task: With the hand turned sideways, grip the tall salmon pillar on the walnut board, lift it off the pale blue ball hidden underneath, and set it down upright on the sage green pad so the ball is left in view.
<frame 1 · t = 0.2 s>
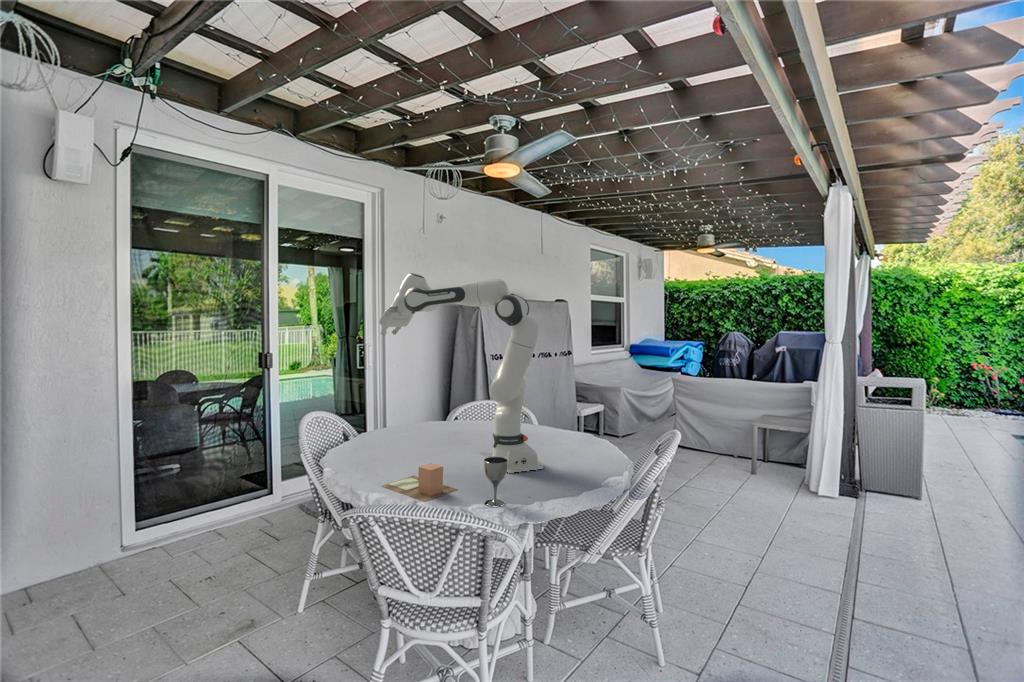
hand: (388, 334, 229), 54 cm above the table, tool tilted 30°, fingers open, 8 cm apart
ball: (430, 487, 182), point 2 cm above the table, touching board
tall salmon pillar: (430, 491, 182), point 1 cm above the table, touching board
wine glass: (495, 504, 175), on the table
board: (419, 490, 186), on the table
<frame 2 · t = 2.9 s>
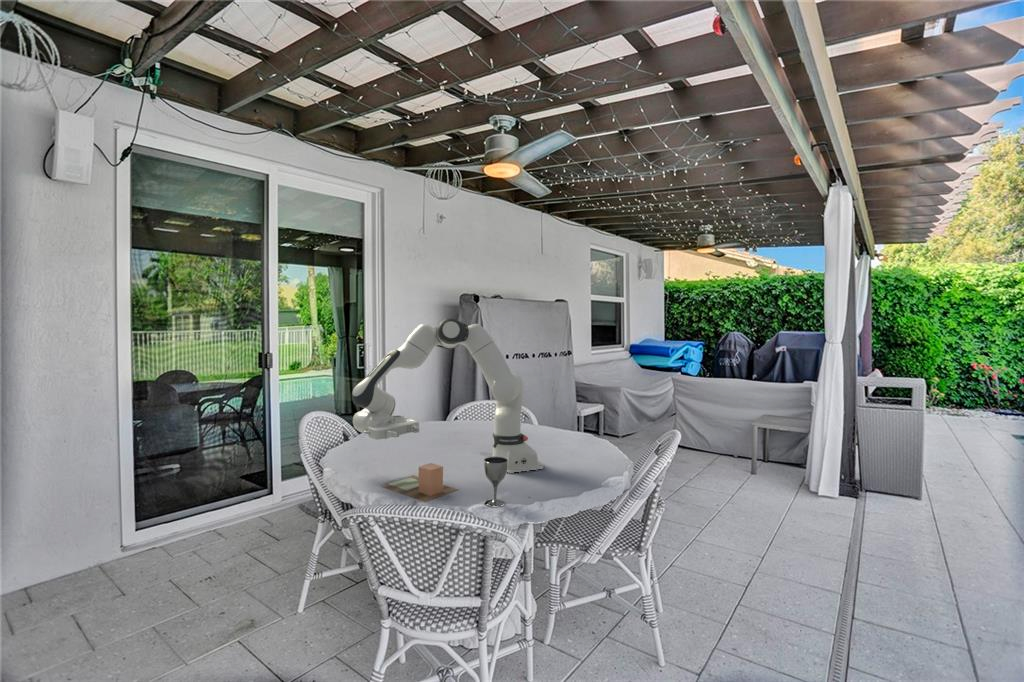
hand: (408, 432, 189), 20 cm above the table, tool horizontal, fingers open, 8 cm apart
nothing on the table moved.
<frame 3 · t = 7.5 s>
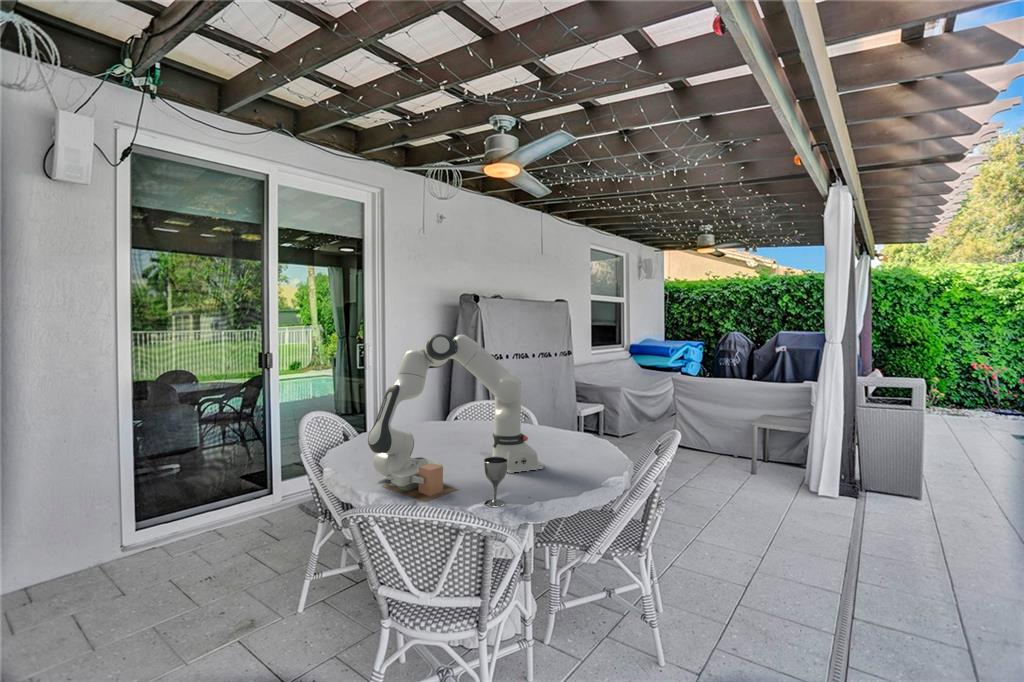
hand: (432, 478, 181), 6 cm above the table, tool horizontal, fingers closed on tall salmon pillar, 6 cm apart
tall salmon pillar: (430, 491, 182), point 1 cm above the table, touching board, gripper
everything else where it was.
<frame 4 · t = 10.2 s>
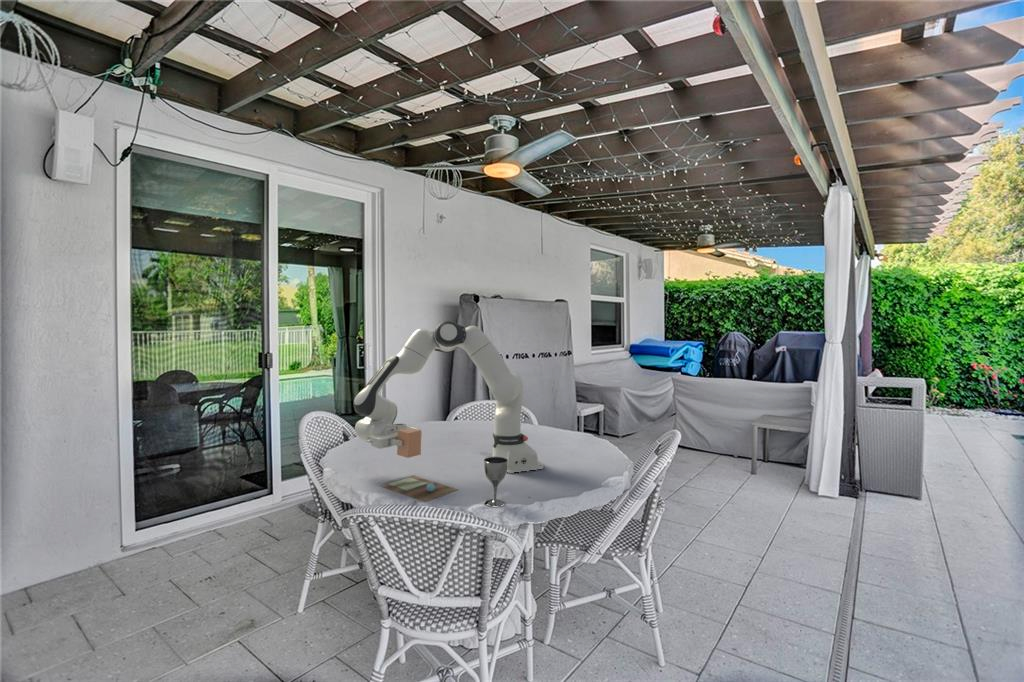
hand: (410, 441, 188), 17 cm above the table, tool horizontal, fingers closed on tall salmon pillar, 6 cm apart
tall salmon pillar: (408, 454, 188), point 12 cm above the table, touching gripper
everything else where it was.
when the fingers open (8 cm above the table, at t = 13.0 s): tall salmon pillar drops 1 cm, resting on board.
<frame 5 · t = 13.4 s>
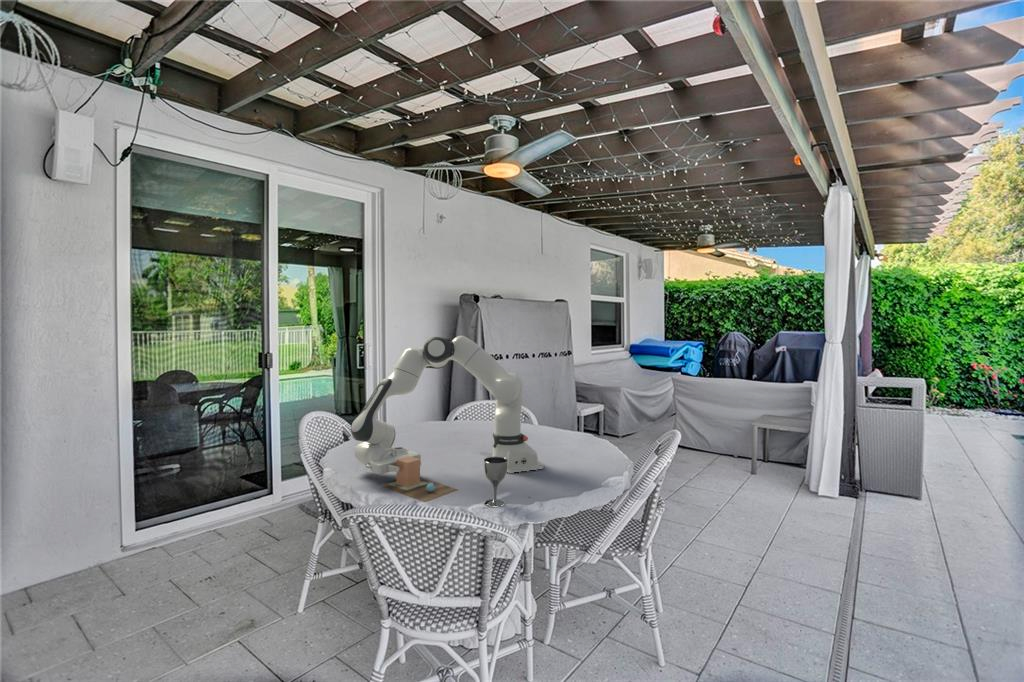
hand: (409, 466, 189), 8 cm above the table, tool horizontal, fingers open, 8 cm apart
tall salmon pillar: (408, 483, 189), point 1 cm above the table, touching board
everything else where it was.
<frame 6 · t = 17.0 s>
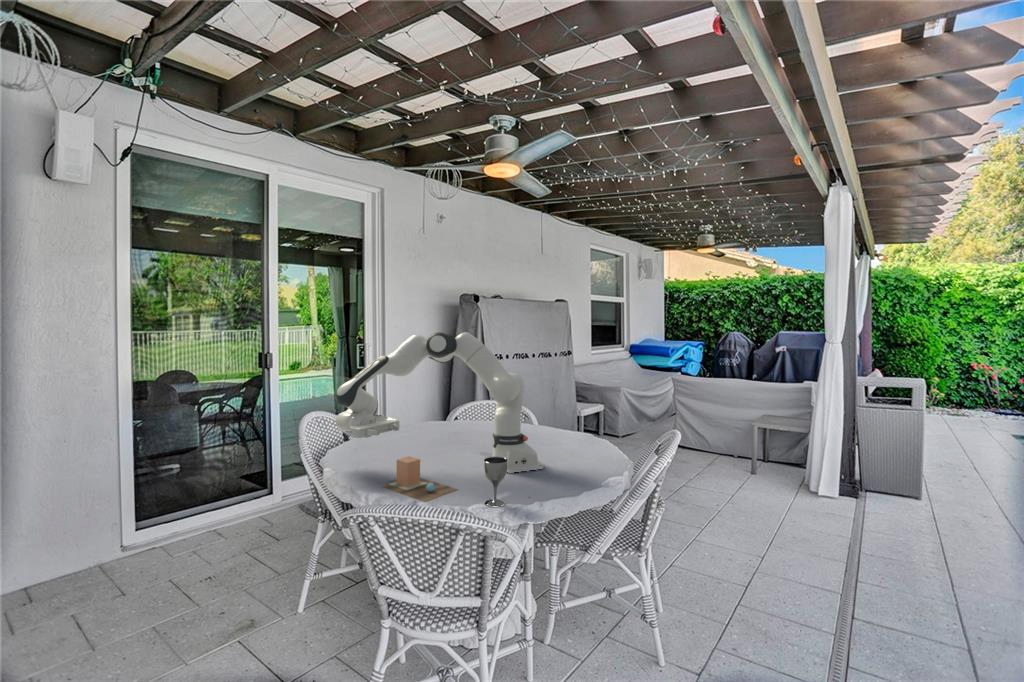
hand: (388, 430, 196), 19 cm above the table, tool horizontal, fingers open, 8 cm apart
nothing on the table moved.
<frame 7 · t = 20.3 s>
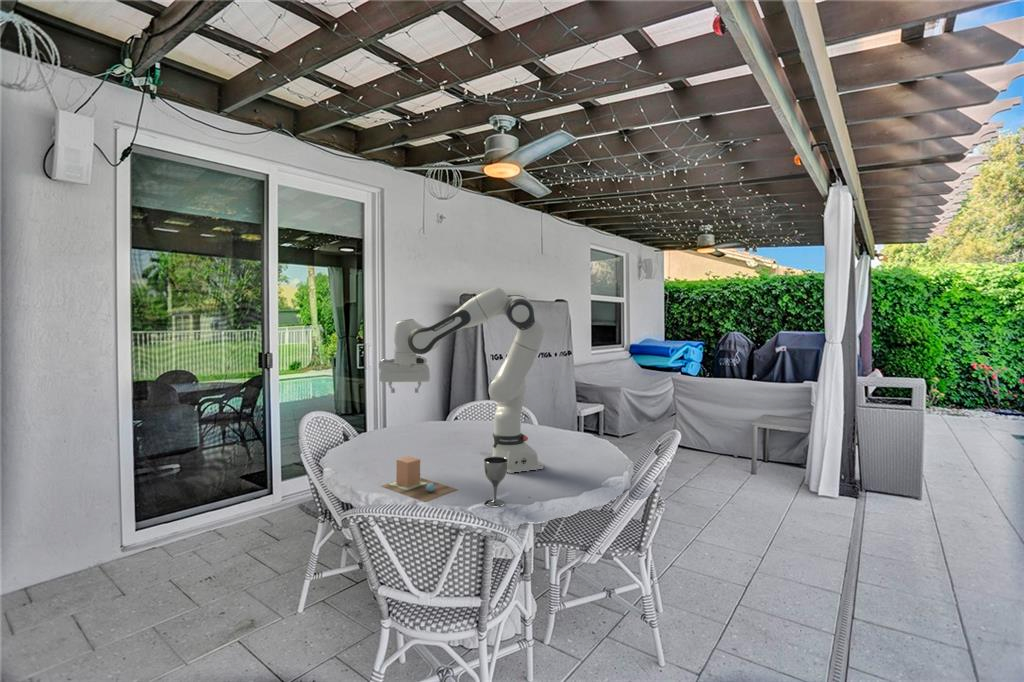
hand: (404, 392, 211), 31 cm above the table, tool pointing down, fingers open, 8 cm apart
nothing on the table moved.
at the end: tall salmon pillar 0.0 cm from the target spot, point 1.2 cm above the table; tall salmon pillar tilted 0°; the gripper is holding nothing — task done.
